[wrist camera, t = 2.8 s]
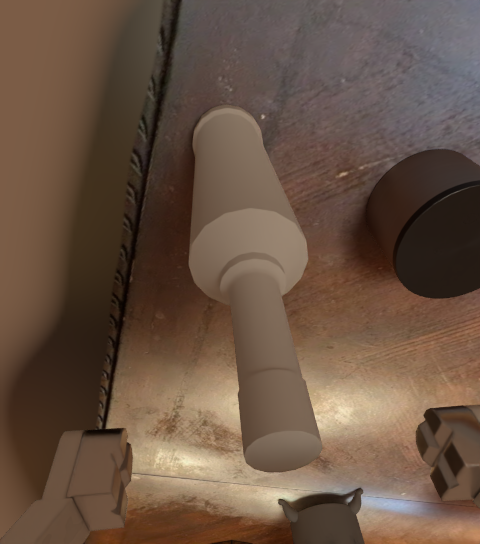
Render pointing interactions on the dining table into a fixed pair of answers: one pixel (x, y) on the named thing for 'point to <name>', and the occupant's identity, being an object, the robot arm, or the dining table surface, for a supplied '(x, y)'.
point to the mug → (232, 542)
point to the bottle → (252, 283)
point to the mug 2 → (326, 522)
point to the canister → (430, 222)
